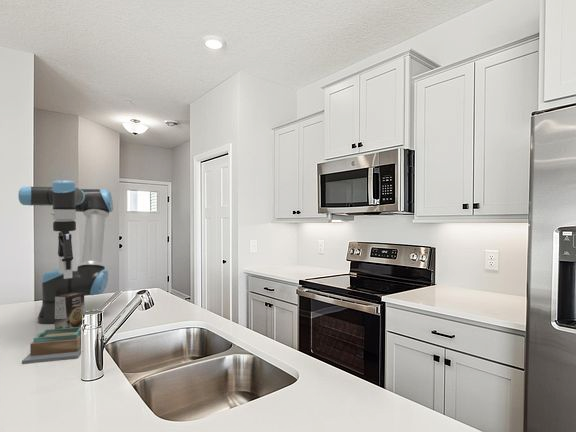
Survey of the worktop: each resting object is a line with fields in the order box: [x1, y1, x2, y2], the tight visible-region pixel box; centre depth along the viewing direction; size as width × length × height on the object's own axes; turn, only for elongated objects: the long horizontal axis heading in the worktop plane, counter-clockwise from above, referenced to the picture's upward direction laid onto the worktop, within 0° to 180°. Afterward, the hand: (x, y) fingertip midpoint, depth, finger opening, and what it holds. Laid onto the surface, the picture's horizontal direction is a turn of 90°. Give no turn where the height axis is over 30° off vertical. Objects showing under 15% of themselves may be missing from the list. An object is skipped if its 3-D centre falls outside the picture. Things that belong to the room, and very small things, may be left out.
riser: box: [29, 327, 81, 356], centre depth 130 cm, size 12×14×6 cm
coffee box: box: [54, 293, 85, 329], centre depth 149 cm, size 9×6×16 cm
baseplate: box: [21, 347, 82, 365], centre depth 130 cm, size 20×16×1 cm
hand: (65, 275), depth 142 cm, fingers open, 13 cm apart
